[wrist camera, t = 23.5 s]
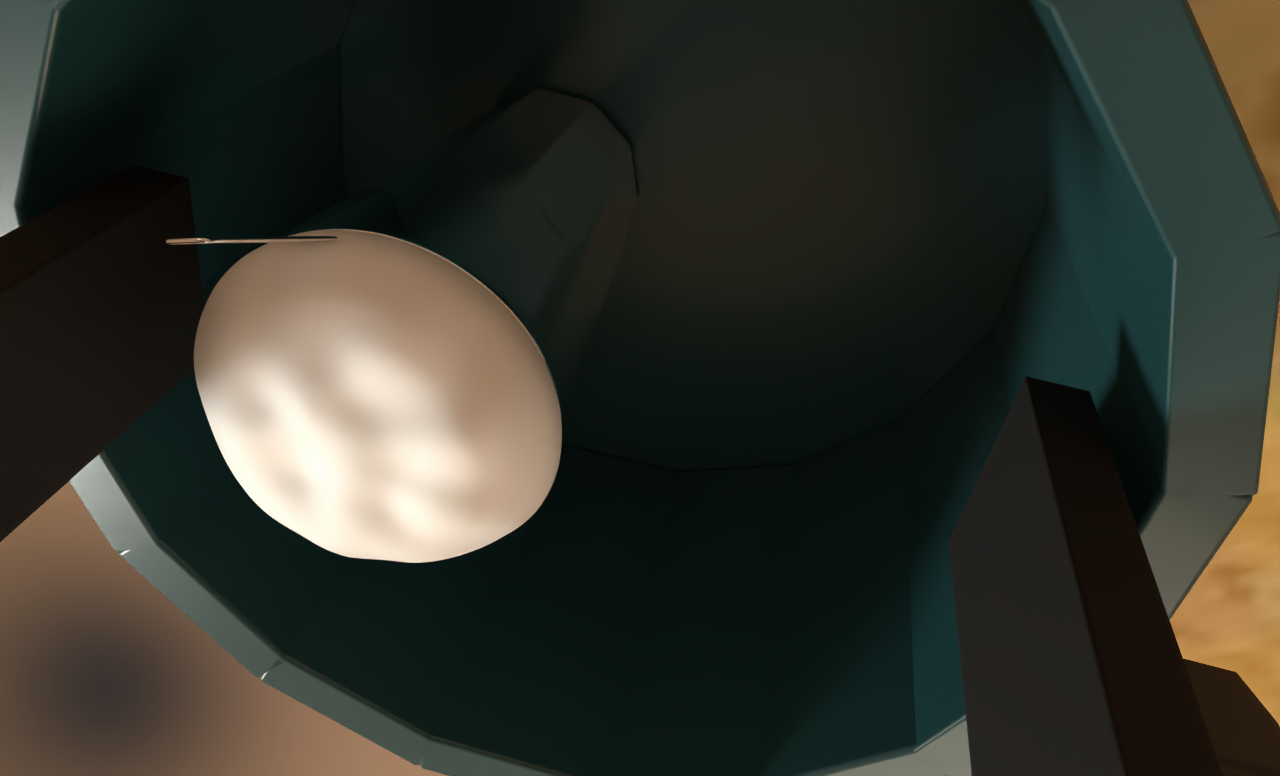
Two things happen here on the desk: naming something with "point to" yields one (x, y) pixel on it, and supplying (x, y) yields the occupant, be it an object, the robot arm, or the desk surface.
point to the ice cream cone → (422, 336)
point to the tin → (701, 346)
